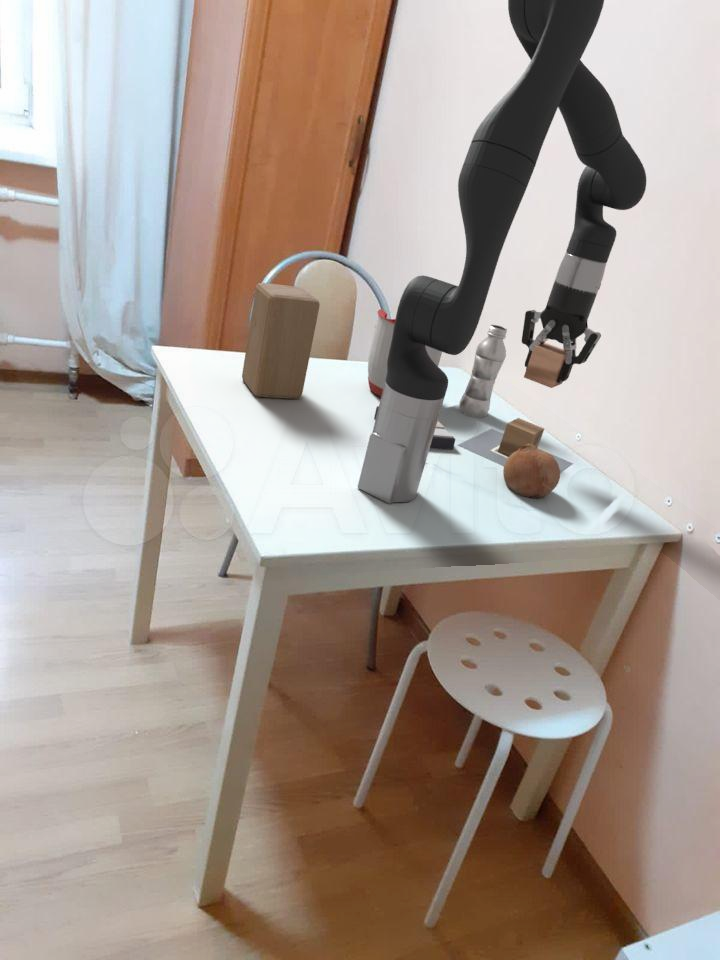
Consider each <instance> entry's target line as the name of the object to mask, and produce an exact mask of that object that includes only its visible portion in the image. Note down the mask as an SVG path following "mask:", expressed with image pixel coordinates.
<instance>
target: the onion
mask: <svg viewBox="0 0 720 960" xmlns="http://www.w3.org/2000/svg"><path fill="white" fill-rule="evenodd" d="M539 449H540V448H538V449H537V447H536V446H534V445H532V444H530V443H529V444H528V443H527V444H525V446H523V447H521V448H520V449H518V450H517V451H516V452H514V453H513V454H511V455H510V456H509V457H508V459H507V460H506V462H505V464H504V466H503V474H502V475H503V480H504V483H505V484H506V486H507V488H508V489H510V490H511V491H513V492H514V493H516V494H518V495H520V496H524V497H527V498H530V499H538V500H540V499H543V498H544V497H545V496H547V495H548V494H550V493H552V491H553V490H555V488H557V487H558V485H559V481H560V477H561V473H560V469H559V465H558V463H557V461H556V460H555V459H554V457H553V456H552V455H553V454H552V453H550V452H548V451H545V450H543V449H541V450H539ZM542 450H543V451H542ZM547 452H548V453H547ZM549 453H550V454H549ZM551 454H552V455H551Z"/></svg>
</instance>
